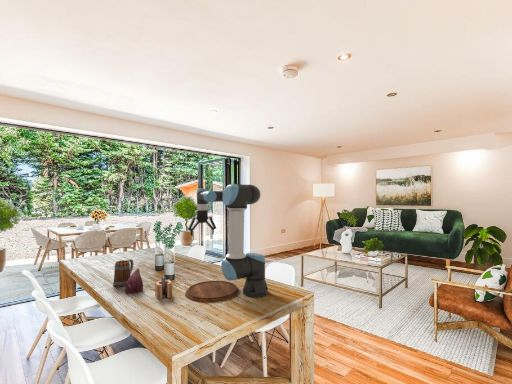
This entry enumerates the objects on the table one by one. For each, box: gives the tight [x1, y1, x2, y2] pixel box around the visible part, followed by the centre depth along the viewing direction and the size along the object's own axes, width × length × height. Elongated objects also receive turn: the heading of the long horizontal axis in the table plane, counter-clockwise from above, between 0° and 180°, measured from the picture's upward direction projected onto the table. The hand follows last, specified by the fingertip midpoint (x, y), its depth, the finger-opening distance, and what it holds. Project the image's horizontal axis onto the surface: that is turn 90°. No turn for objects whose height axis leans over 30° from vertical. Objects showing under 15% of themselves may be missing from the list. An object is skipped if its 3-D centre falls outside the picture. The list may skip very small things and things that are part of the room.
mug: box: [112, 258, 134, 288], centre depth 179 cm, size 16×11×15 cm
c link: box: [154, 279, 173, 301], centre depth 155 cm, size 8×8×8 cm
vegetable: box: [124, 267, 144, 295], centre depth 165 cm, size 10×10×15 cm
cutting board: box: [184, 280, 240, 304], centre depth 162 cm, size 32×32×3 cm
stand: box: [161, 276, 167, 298], centre depth 155 cm, size 4×4×11 cm
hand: (202, 239), depth 192 cm, fingers open, 13 cm apart
